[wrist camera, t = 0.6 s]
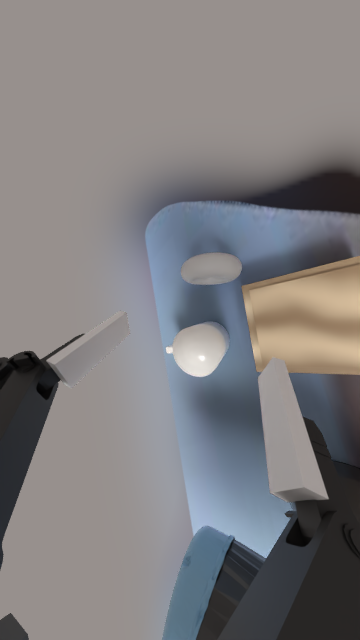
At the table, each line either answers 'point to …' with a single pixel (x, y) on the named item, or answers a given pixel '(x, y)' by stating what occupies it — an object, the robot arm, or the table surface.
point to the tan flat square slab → (307, 319)
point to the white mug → (200, 348)
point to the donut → (211, 269)
